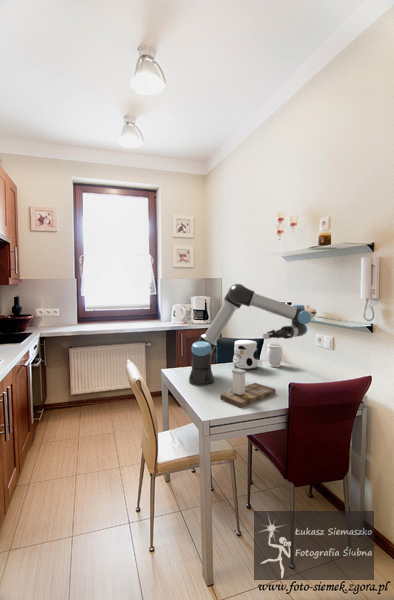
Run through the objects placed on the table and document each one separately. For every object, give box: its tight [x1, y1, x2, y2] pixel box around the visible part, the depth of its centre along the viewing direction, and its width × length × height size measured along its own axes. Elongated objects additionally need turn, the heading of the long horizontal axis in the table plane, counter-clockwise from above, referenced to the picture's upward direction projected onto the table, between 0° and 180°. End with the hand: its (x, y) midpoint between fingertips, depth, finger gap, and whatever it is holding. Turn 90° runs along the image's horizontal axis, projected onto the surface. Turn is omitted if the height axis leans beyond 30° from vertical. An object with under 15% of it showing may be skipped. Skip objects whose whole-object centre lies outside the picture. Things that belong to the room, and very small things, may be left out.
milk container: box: [232, 339, 259, 370], centre depth 221 cm, size 17×17×18 cm
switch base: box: [219, 382, 277, 408], centre depth 168 cm, size 28×14×3 cm, turn 130°
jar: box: [266, 343, 283, 368], centre depth 225 cm, size 11×10×15 cm
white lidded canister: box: [231, 367, 247, 395], centre depth 165 cm, size 5×6×12 cm
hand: (264, 336), depth 176 cm, fingers closed
